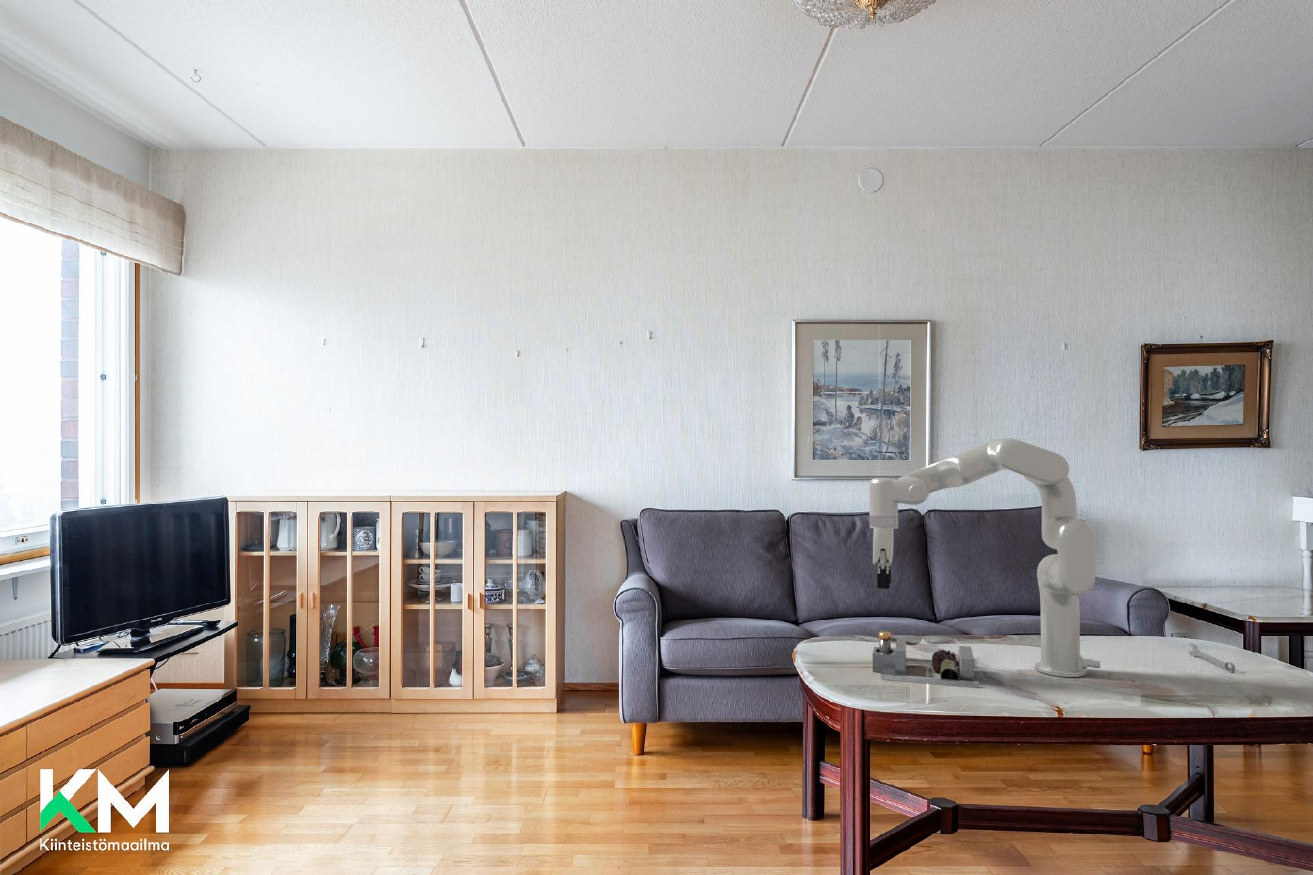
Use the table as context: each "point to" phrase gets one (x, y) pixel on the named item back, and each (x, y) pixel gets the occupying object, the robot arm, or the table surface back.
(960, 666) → the block
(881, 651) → the grey cylinder orange cap
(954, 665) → the brown wood log
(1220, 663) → the combination wrench
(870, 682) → the table surface
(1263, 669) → the table surface
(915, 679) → the grey flat plate
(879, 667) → the tailstock
